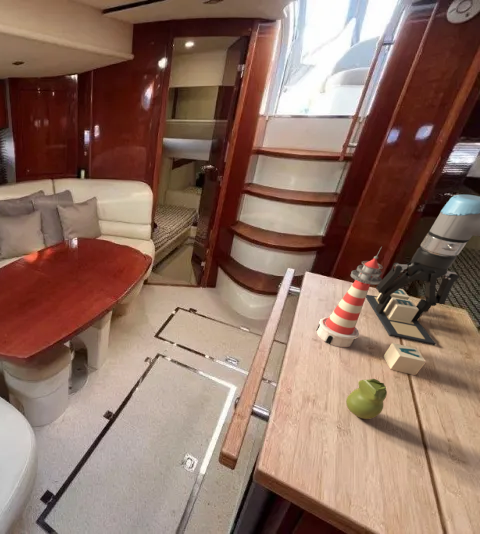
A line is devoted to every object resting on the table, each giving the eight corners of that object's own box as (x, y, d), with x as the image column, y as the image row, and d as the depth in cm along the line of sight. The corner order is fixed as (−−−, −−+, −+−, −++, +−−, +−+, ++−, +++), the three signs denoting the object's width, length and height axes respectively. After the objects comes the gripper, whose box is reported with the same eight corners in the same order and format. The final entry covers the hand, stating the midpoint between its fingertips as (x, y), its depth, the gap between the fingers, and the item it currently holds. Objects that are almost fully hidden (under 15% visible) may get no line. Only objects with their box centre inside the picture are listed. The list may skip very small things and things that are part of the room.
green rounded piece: (379, 423, 67) (402, 394, 62) (355, 424, 67) (376, 394, 62) (358, 401, 71) (378, 372, 66) (336, 402, 71) (354, 372, 66)
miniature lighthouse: (348, 353, 84) (403, 259, 69) (310, 336, 90) (353, 245, 75) (357, 338, 89) (410, 247, 74) (320, 323, 95) (362, 235, 80)
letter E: (403, 313, 97) (411, 300, 95) (410, 322, 93) (419, 309, 91) (383, 309, 99) (391, 296, 97) (389, 318, 95) (397, 305, 93)
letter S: (395, 301, 103) (403, 288, 100) (401, 309, 99) (410, 296, 96) (376, 298, 105) (384, 285, 102) (382, 306, 101) (389, 293, 98)
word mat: (401, 302, 103) (403, 300, 103) (434, 345, 86) (436, 343, 86) (365, 296, 107) (366, 294, 107) (389, 336, 90) (390, 333, 89)
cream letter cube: (406, 361, 81) (417, 347, 79) (415, 375, 77) (426, 361, 75) (383, 356, 83) (392, 342, 81) (390, 369, 79) (400, 355, 77)
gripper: (395, 250, 86) (358, 313, 97) (499, 264, 78) (445, 331, 90) (385, 239, 91) (351, 300, 103) (480, 252, 84) (432, 316, 95)
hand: (395, 314), depth 96 cm, fingers open, 8 cm apart
